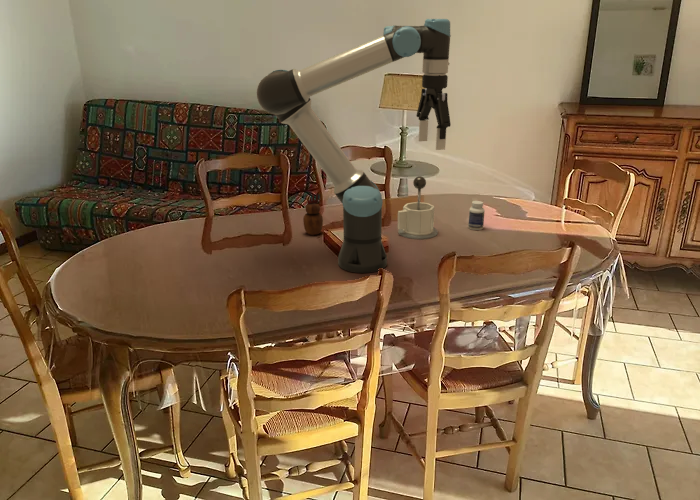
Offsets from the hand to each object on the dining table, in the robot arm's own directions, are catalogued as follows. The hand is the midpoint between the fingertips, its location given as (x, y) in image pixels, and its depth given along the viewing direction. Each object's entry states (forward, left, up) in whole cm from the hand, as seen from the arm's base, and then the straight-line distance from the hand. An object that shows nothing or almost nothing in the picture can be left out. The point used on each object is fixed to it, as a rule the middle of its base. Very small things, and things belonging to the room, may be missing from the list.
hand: (431, 145), depth 183 cm
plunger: (+5, +15, -32) cm, 36 cm away
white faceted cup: (+5, +15, -34) cm, 38 cm away
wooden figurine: (-29, +29, -35) cm, 54 cm away
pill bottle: (+26, +10, -35) cm, 45 cm away
